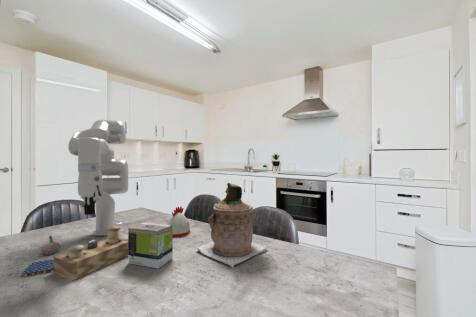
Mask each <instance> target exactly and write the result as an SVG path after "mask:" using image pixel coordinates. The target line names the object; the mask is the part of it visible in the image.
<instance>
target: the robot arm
mask: <svg viewBox="0 0 476 317" xmlns="http://www.w3.org/2000/svg"><path fill="white" fill-rule="evenodd" d="M126 140H127V135H126V128H125V127H124V124H123V123H122V121H120V120H110V119H99V120H96V121H94V122H93V124H92V126H91V127H90V128H87V129H84V130H81V131H77V132H75V133H74V134H73V135H72V136H71V137H70V140H69V141H68V147H67V148H68V152H69V153H70V155H73V156H76V157H77V166H78V167H77V173H78V178H77V194H78V195H79V196H80V199H82V200H83V205H84V208H83V210H84V213H83V214H84V215H85V216H90V215H93V214H95V230H94V231H92V234H91V235H92V236H95V237H105V236H106V237H107V236H108V231H107V228H109V227H112V226H119V227H121V226H123V222H122V221H121V222H116V213H115V212H116V203H115V202H116V201H115V199H114V198H113V197H112V196H111V195H120V194H121V195H122V194H125V193H127V192H128V190H129V165H128V164H129V163H128V161H127V160H126V159H115V150H114V149H113V148H112V147H111V145H114V144H115V145H122V144H124V143H125V142H126ZM103 176H105V177H103ZM106 176H107V177H106ZM108 176H112V177H108ZM113 176H119V177H113Z"/></svg>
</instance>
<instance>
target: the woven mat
mask: <svg viewBox="0 0 476 317" xmlns="http://www.w3.org/2000/svg"><path fill="white" fill-rule="evenodd" d="M50 272H51V273H54V258H53V259H45V260H37V261H33V262H32V263H31V264H29V266H27V267H26V268H25V269H24V270H23V271H21V273H20V274H19V276H20V278H23V277H31V275H32V276H35V275H37V276H38V275H39V274H40V275H42V274H46V273H47V274H49V273H50Z"/></svg>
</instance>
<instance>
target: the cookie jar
mask: <svg viewBox="0 0 476 317" xmlns="http://www.w3.org/2000/svg"><path fill="white" fill-rule="evenodd" d="M226 186H227V187H226V189H225V191H224V192H225V194H226V195H225V198H223V199H221V200H220V201H219V202H218V203H214V204H213V206H212V211H213V213H214V214H211V215H210V216H209V217H208V219H207V222H208V225H209V228H210V229H211V231H210V239H211V240H212V241H211V242H209V243H206V244H203V245H198V246H195V248H196V249H197V250H198V251H199V252H200V253H201V254H202V255H204V256H206V257H208V258H211V259H214V260H216V261H218V262H220V263H222V264H225V265H228V266H229V267H231V268H235V265H238V264H240V263H242V262H245V261H246V260H248V259H251V258H252V257H255V256H257V255H259V254H261V253H264V252H267V248H268V247H267V245H263V244H260V243H256V242H253V236H254V229H253V219H252V211H253V209H254V207H253V206H252V205H250V204H247V203H246V202H243V200H242V196H243V188H242V187H241V186H239V185H237V184H234V183H230V182H227V183H226Z"/></svg>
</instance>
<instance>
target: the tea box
mask: <svg viewBox="0 0 476 317" xmlns="http://www.w3.org/2000/svg"><path fill="white" fill-rule="evenodd" d="M127 229H128V232H127V234H128V236H127V237H128V238H127V240H128V256H127V257H128V260H127V261H128V263H129V264H132V265H137V266H138V265H139V266H143V267H148V268H153V269H160V268H162V267H163V266H164V265H165V264H167V263H169V262H170V261H171V260H173V258H174V257H173V256H174V255H173V254H174V253H173V252H174V251H173V250H174V247H173V243H174V242H173V241H174V239H173V238H174V237H173V230H172V225H171V224H167V223H159V222H146V221H145V222H141V223H139V224H137V225H136V224H135V225H133V226H130V227H128V228H127Z"/></svg>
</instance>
